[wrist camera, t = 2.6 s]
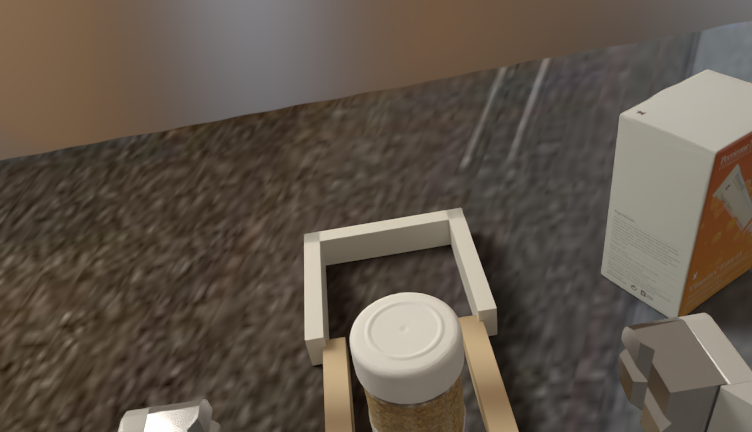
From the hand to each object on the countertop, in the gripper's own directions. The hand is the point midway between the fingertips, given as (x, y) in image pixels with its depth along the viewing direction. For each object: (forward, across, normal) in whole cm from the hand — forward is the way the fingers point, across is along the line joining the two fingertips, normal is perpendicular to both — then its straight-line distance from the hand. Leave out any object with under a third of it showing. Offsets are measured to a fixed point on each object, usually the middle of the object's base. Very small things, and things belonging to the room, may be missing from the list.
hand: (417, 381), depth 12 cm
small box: (+23, -20, +22) cm, 37 cm away
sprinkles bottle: (+9, 0, +22) cm, 24 cm away
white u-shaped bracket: (+25, 0, +22) cm, 33 cm away
